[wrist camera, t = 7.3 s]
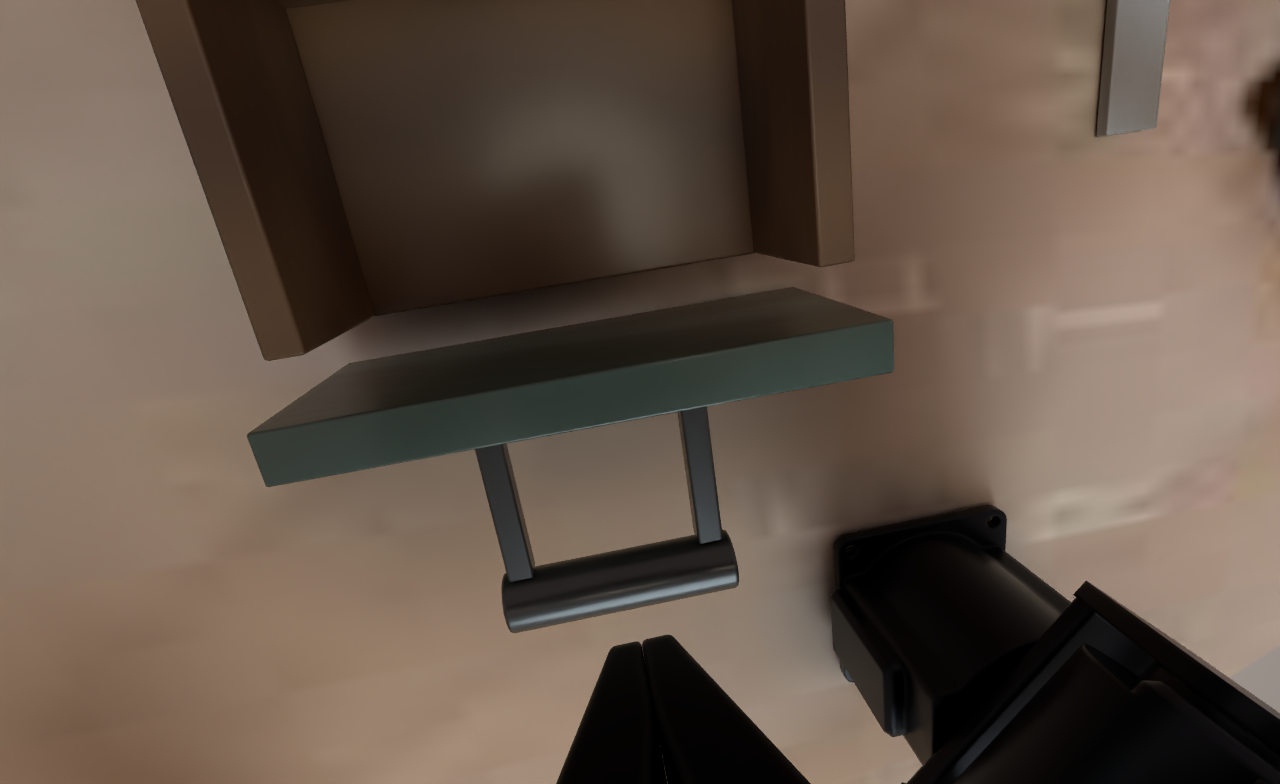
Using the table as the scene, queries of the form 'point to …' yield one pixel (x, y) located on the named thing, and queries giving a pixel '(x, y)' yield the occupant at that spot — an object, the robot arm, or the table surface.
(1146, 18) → the red usb flash drive
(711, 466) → the drawer
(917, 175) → the table surface
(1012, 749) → the robot arm
